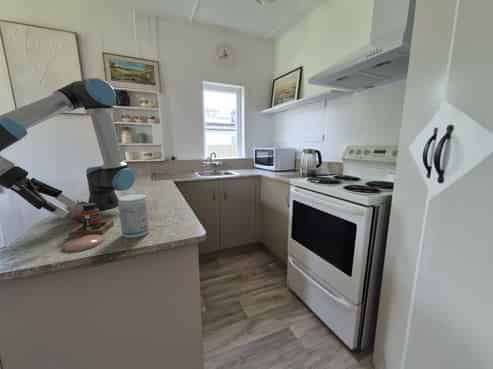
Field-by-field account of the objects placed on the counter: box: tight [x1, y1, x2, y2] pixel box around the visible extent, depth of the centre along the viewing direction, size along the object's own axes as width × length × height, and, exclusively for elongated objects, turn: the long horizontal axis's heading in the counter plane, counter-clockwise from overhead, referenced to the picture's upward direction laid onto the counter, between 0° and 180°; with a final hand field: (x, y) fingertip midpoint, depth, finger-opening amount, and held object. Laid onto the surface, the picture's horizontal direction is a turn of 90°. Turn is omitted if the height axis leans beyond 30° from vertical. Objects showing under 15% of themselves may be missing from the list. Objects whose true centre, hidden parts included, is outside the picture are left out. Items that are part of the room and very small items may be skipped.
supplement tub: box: [117, 194, 150, 239], centre depth 80 cm, size 10×10×15 cm
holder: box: [67, 220, 115, 239], centre depth 84 cm, size 11×11×2 cm
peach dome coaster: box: [63, 235, 105, 253], centre depth 73 cm, size 11×11×1 cm
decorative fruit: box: [65, 199, 88, 222], centre depth 95 cm, size 9×8×10 cm
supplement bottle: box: [81, 202, 102, 231], centre depth 83 cm, size 6×6×11 cm
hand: (70, 210), depth 79 cm, fingers open, 13 cm apart
